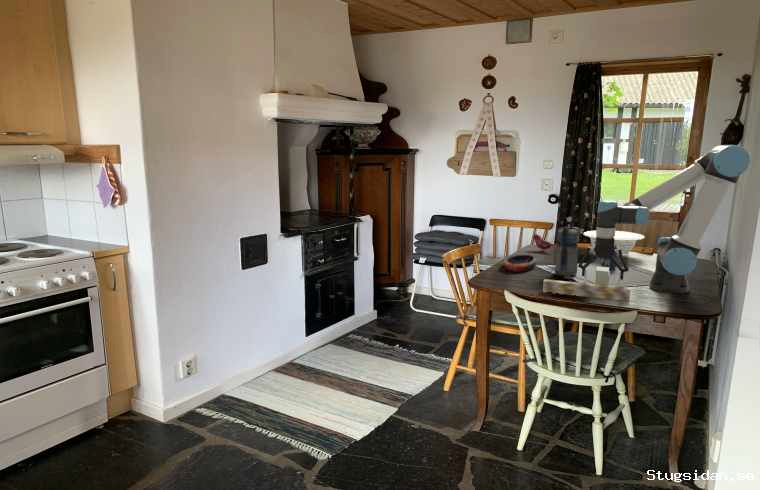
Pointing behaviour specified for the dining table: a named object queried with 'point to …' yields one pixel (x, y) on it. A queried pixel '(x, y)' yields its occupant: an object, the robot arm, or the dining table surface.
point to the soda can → (609, 261)
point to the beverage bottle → (567, 251)
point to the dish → (519, 262)
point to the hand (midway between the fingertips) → (601, 285)
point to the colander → (619, 239)
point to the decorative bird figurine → (542, 243)
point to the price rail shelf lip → (587, 290)
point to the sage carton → (602, 276)
